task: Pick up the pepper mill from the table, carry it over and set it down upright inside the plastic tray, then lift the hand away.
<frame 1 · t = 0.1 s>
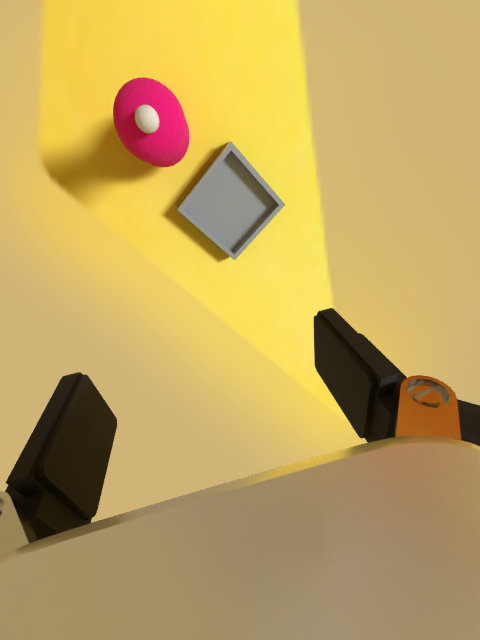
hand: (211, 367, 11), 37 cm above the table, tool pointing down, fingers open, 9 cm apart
tray: (230, 204, 43), on the table
pepper mill: (161, 135, 37), on the table
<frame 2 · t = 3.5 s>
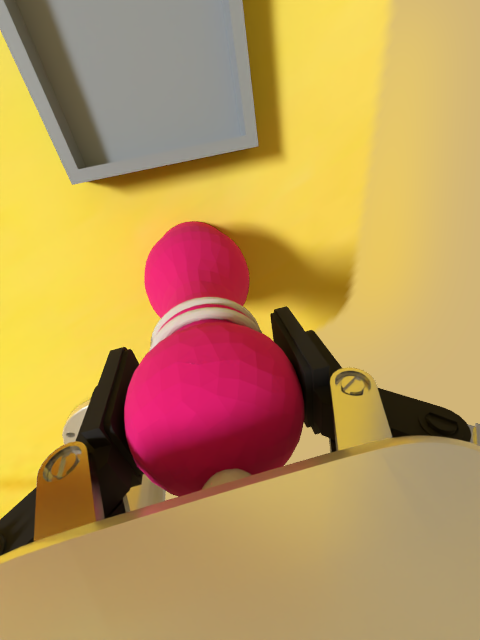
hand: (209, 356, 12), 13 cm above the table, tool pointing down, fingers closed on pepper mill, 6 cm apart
tray: (137, 48, 16), on the table
pepper mill: (195, 258, 23), on the table, touching gripper
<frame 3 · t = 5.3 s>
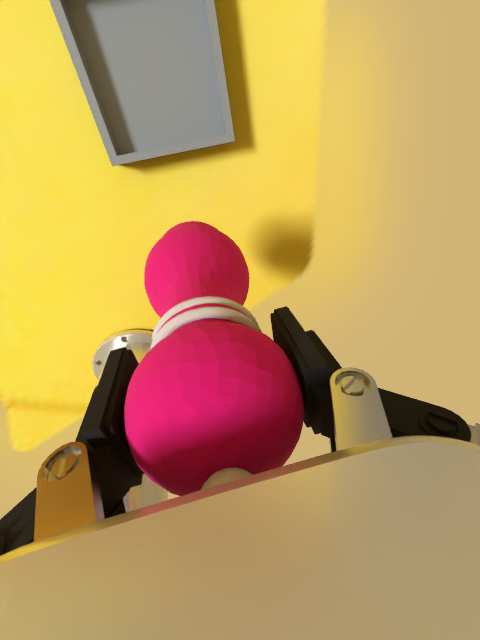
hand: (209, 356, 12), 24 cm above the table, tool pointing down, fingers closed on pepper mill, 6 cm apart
tray: (155, 77, 24), on the table
pepper mill: (195, 258, 23), point 10 cm above the table, touching gripper
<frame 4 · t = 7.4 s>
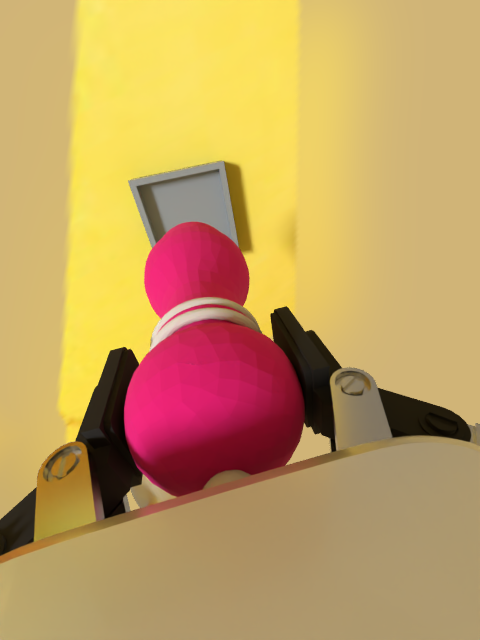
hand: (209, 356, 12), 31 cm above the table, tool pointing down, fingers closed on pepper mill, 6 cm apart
tray: (189, 217, 38), on the table
pepper mill: (195, 258, 23), point 18 cm above the table, touching gripper
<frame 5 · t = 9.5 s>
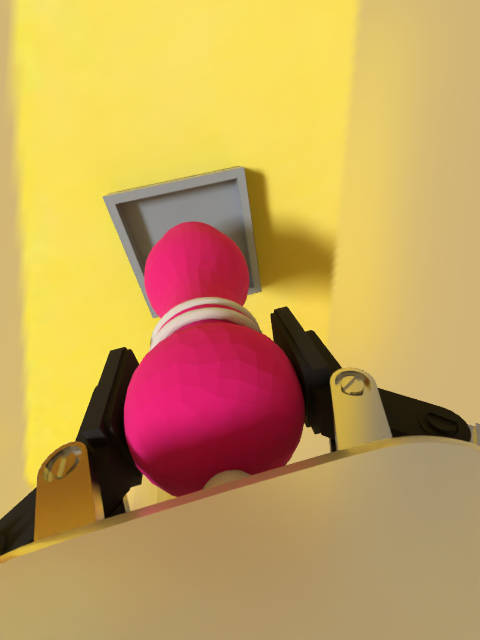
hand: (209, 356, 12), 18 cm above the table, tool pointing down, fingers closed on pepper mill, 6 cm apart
tray: (192, 243, 27), on the table
pepper mill: (195, 258, 23), point 5 cm above the table, touching gripper
when the fingers open (15 cm above the table, at t = 11.2 s): pepper mill stays where it is, resting on tray.
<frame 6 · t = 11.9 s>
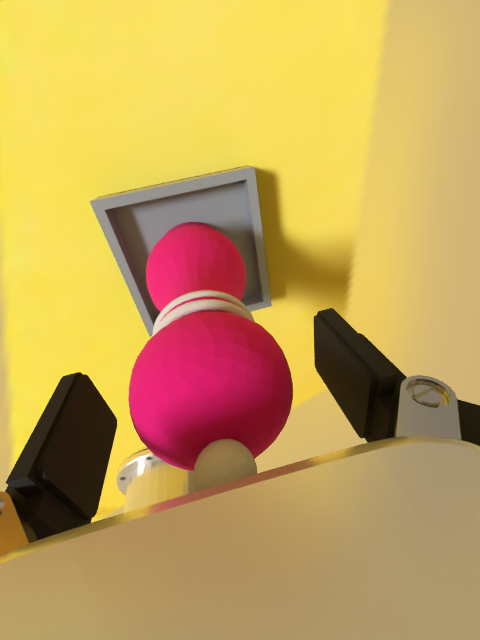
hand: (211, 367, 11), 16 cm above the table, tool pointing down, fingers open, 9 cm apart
tray: (194, 253, 24), on the table
pepper mill: (194, 257, 24), point 1 cm above the table, touching tray
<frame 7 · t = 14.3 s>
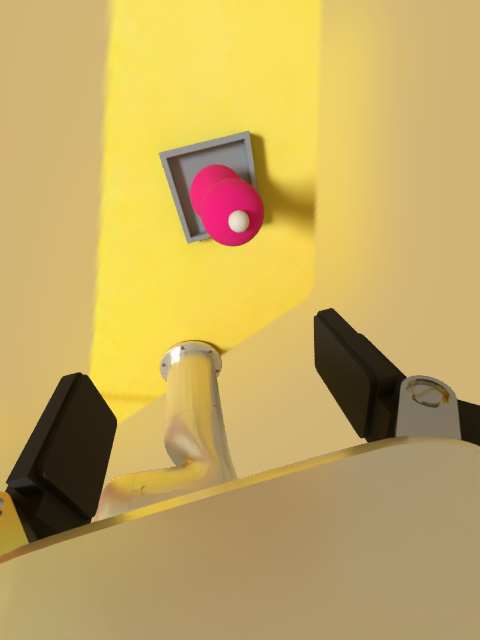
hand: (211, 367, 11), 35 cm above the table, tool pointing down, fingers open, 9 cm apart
tray: (213, 189, 39), on the table
pepper mill: (214, 191, 39), point 1 cm above the table, touching tray
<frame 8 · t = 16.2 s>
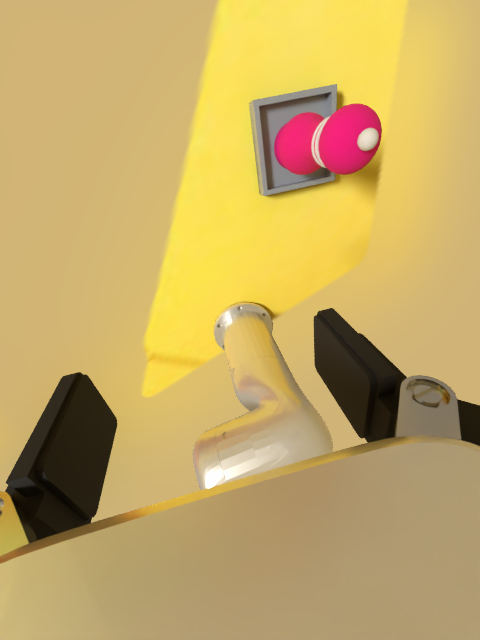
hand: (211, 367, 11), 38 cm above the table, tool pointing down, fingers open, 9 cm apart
tray: (291, 144, 41), on the table
pepper mill: (292, 146, 41), point 1 cm above the table, touching tray
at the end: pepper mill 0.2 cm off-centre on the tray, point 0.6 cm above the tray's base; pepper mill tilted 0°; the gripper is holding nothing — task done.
